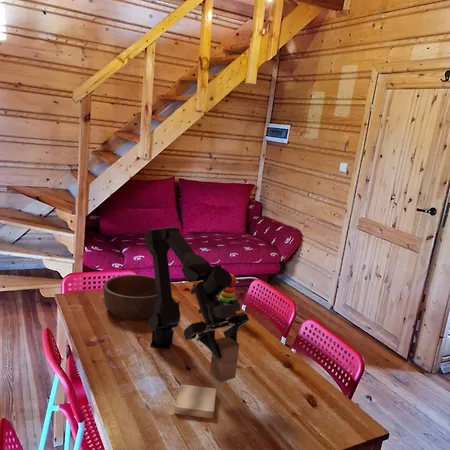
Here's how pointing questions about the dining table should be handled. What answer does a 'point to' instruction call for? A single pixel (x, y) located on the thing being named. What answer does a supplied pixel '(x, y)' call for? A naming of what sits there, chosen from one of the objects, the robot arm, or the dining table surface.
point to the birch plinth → (195, 401)
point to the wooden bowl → (131, 296)
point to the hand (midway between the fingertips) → (227, 355)
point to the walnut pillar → (225, 360)
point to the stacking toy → (228, 293)
